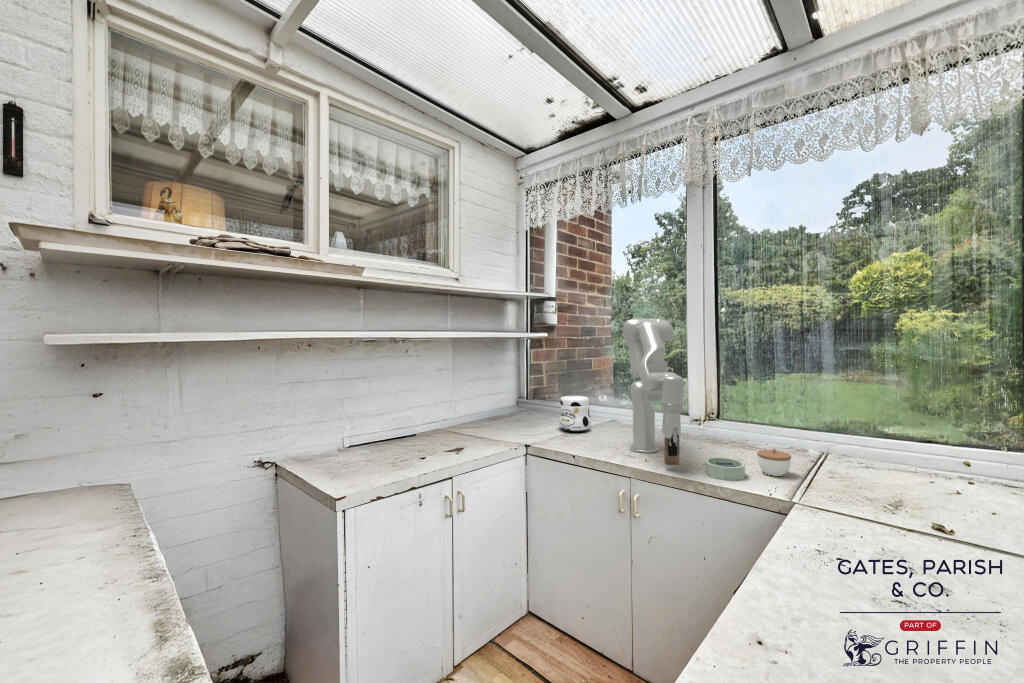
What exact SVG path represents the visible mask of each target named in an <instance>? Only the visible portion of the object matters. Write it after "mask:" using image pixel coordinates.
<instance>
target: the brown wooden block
mask: <svg viewBox="0 0 1024 683" xmlns="http://www.w3.org/2000/svg"><path fill="white" fill-rule="evenodd" d="M663 440H664V446H663V447H664V454H663V455H664V457H663V458H664V460H663V461H664V462H663V463H664V464H665V466H680V438H679V439H678V438H677V456H669V455H668V445H669V439H667V438H666V437H665V436H664V439H663ZM671 441H672V440H671Z"/></svg>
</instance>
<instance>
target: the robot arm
mask: <svg viewBox="0 0 1024 683" xmlns="http://www.w3.org/2000/svg"><path fill="white" fill-rule="evenodd" d="M622 334H623V338H624V341H625V343H626V346H627V348H628V354H629V362H630V369H631V370H630V371H631V374H632V375H633V377H635V378H640V380H635V381H633V382H632V383H631V385H630V389H629V390H630V395H631V403H632V444H630V445H629V450H631V451H633V452H637V453H642V454H643V453H644V454H650V453H651V454H652V453H657V452H659V450H660V448H659V446H657V445H656V425H655V424H656V415H655V409H654V407H653V406H652V405H651V403H650V402H657V401H658V402H660V401H661V412H663V413H662V429H661V431H662V434H663V435H664V437H666V438H667V439H669V445H668V455H669V456H677V438H678V439H679V440H680V439H681V425H682V424H681V414H682V413H683V412H684V411H683V410H684V405H683V404H684V379H683V377H682V376H680V375H677V373H675V372H673V371H672V372H671V371H670V372H669V371H668V370H669V368H668V364H667V362H666V360H665V359H664V356H665V354H666V352H667V351H666V346H665V344H664V341H671V339H673V336H674V328H673V325H672V324H671V322H669V321H667V320H665V319H661V318H657V317H655V318H654V317H653V318H650V317H649V318H631V319H627V320H625V322H624V324H623V326H622ZM671 440H672V441H671Z"/></svg>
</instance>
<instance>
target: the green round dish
mask: <svg viewBox="0 0 1024 683" xmlns="http://www.w3.org/2000/svg"><path fill="white" fill-rule="evenodd" d="M705 472H706V473H707V474H706V473H705ZM704 473H705V474H706V476H708V475H710V476H709V477H711V476H712V477H711V478H713V477H715V478H714V479H717V478H719V479H718V480H722V479H725V480H724V481H735V480H736V481H738V480H737V479H741V480H743V479H742V478H744V479H745V477H746V464H745V463H744V462H743V461H741V460H737V459H735V458H730V457H729V458H728V457H718V456H716V457H714V456H713V457H712V456H711V457H707V458H706V459H705V460H704ZM744 476H745V477H744Z"/></svg>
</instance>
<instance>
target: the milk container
mask: <svg viewBox="0 0 1024 683" xmlns="http://www.w3.org/2000/svg"><path fill="white" fill-rule="evenodd" d="M589 401H590V399H589V397H588V396H586V395H585V396H584V395H564V396H561V397H560V401H559V402H560V406H559V407H560V413H559V414H560V415H559V419H558V424H559V428H560V429H561V430H562V431H565V432H569V433H570V432H571V433H572V432H573V433H582V432H586V431H588V430H590V429H591V426H592V420H591V416H590V402H589Z"/></svg>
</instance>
